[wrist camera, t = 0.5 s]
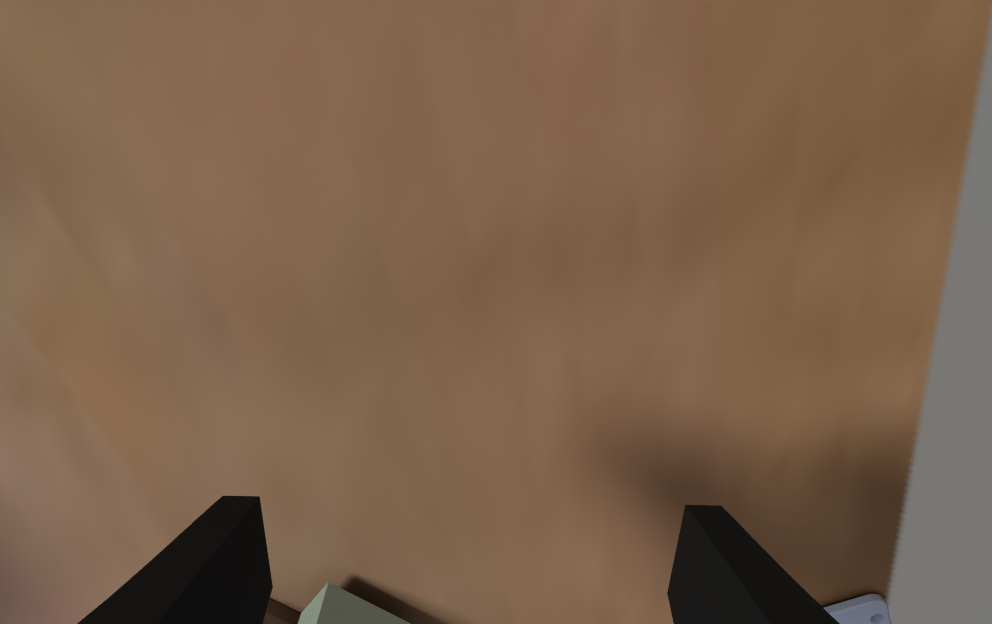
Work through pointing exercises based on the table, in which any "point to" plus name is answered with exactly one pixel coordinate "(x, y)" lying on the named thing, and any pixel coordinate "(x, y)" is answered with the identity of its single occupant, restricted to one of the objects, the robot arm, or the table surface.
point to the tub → (280, 614)
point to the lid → (344, 609)
